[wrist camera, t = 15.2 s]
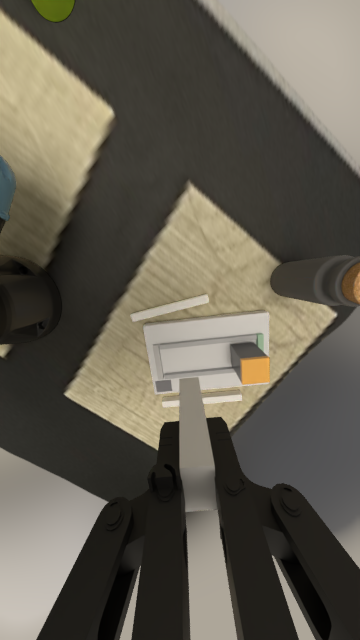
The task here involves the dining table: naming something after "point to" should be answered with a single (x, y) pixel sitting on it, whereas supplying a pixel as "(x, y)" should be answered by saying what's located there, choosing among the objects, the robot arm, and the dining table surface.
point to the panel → (202, 348)
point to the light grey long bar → (206, 398)
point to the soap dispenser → (54, 9)
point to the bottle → (320, 280)
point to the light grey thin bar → (170, 307)
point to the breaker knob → (250, 363)
